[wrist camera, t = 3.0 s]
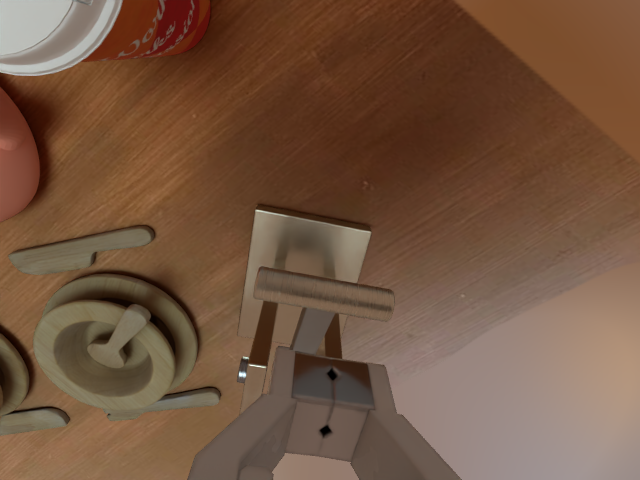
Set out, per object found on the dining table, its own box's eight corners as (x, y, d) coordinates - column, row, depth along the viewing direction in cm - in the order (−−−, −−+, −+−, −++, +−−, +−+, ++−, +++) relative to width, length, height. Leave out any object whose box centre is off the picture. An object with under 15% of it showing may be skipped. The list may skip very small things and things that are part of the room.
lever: (263, 245, 14) (249, 304, 12) (394, 270, 14) (396, 329, 13) (251, 358, 23) (243, 398, 22) (330, 370, 23) (327, 411, 22)
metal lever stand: (257, 203, 29) (214, 294, 17) (370, 225, 29) (403, 326, 18) (239, 327, 33) (196, 464, 22) (336, 343, 34) (345, 484, 23)
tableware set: (154, 221, 29) (117, 255, 24) (229, 400, 37) (213, 456, 32) (-174, 286, 32) (-276, 330, 26) (-38, 441, 40) (-95, 499, 34)
